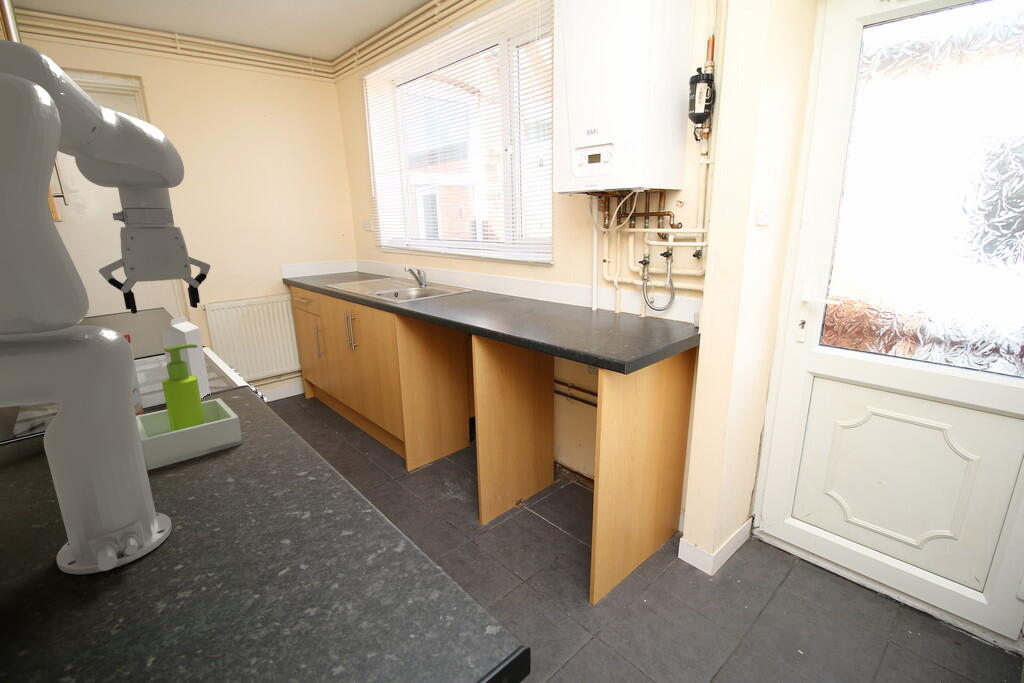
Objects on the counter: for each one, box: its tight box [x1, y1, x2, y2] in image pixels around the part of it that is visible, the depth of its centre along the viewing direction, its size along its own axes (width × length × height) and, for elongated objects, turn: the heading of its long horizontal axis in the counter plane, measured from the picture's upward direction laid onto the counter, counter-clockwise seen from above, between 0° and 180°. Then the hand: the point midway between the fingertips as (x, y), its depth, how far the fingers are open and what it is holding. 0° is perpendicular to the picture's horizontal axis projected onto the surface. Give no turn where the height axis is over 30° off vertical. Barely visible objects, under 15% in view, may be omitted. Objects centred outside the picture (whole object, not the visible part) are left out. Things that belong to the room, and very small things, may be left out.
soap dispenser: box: [161, 344, 205, 432], centre depth 98 cm, size 6×7×20 cm
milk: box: [160, 315, 211, 398], centre depth 124 cm, size 6×6×22 cm
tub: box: [136, 397, 244, 471], centre depth 99 cm, size 16×16×6 cm
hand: (165, 309), depth 93 cm, fingers open, 9 cm apart
